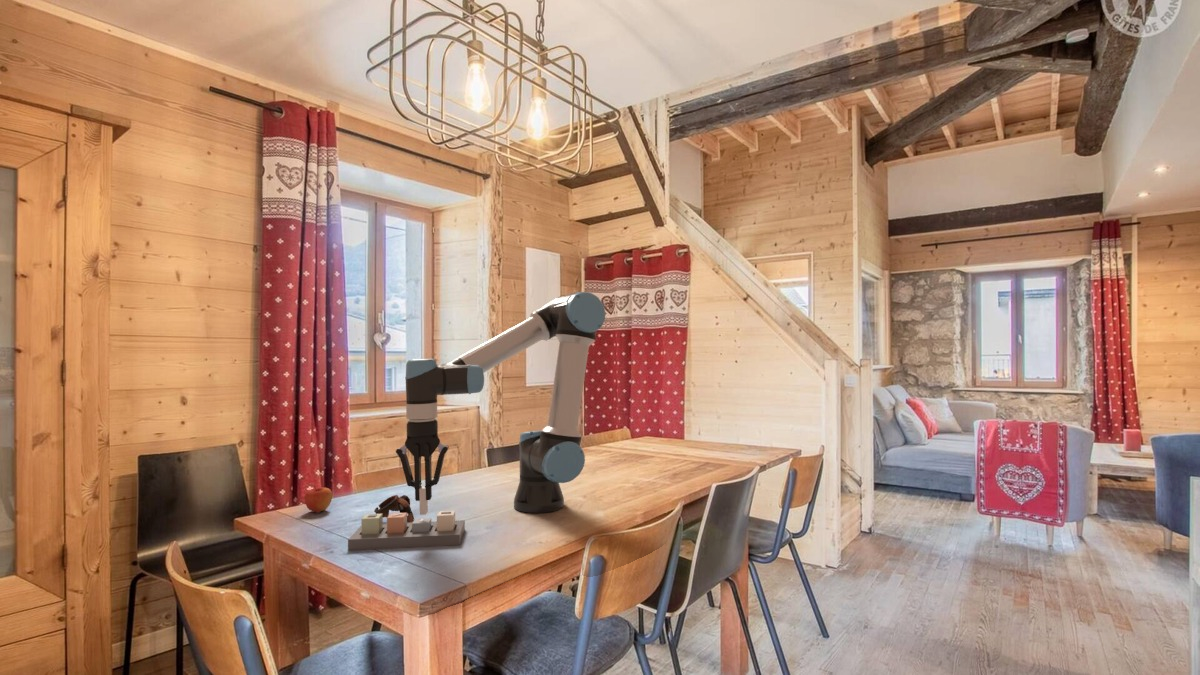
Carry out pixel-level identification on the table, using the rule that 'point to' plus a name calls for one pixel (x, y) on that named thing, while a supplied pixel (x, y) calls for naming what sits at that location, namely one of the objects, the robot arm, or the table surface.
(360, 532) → the keypad board
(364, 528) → the sage key
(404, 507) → the dark brown curved piece
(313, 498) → the apple
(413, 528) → the slate key
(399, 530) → the terracotta key
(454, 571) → the table surface
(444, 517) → the cream key
